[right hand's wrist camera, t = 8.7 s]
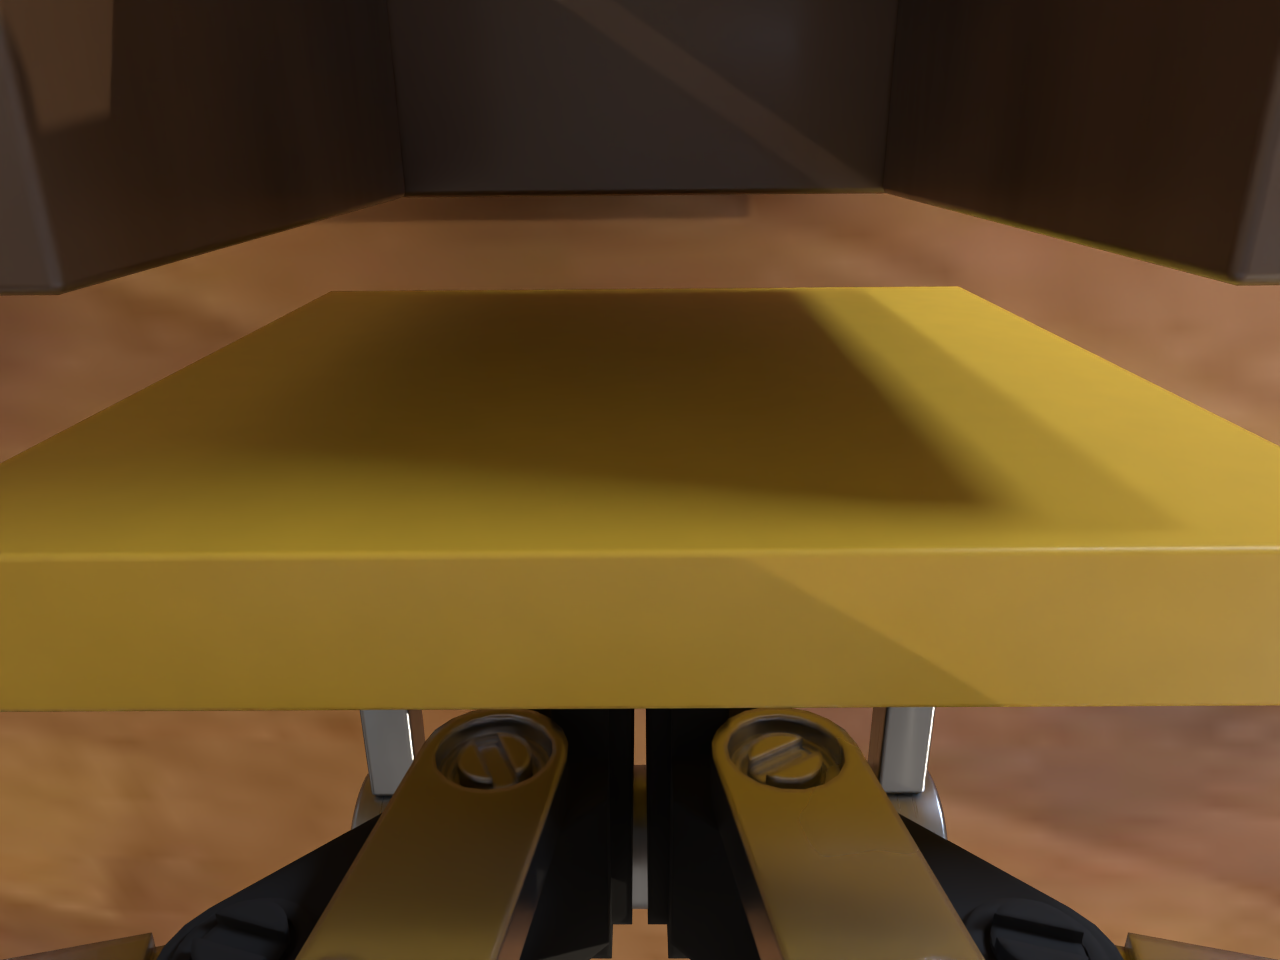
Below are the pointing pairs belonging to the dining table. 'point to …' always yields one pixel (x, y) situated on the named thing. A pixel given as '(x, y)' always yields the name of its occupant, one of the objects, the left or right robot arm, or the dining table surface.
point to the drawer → (639, 372)
